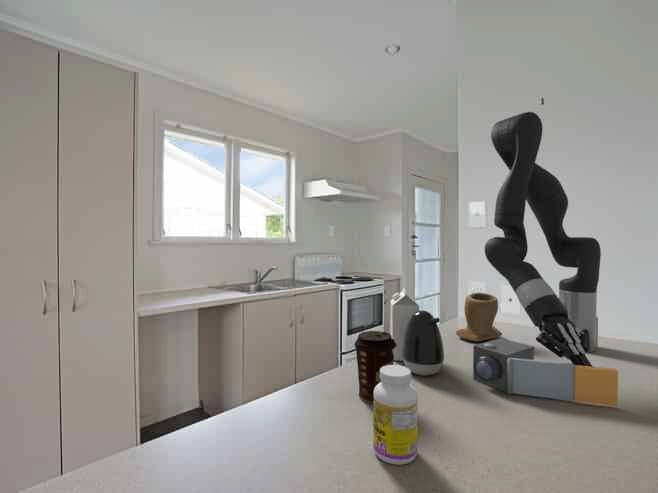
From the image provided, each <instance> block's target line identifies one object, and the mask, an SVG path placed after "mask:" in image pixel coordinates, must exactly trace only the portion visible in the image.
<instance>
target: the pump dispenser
mask: <svg viewBox="0 0 658 493" xmlns="http://www.w3.org/2000/svg"><path fill="white" fill-rule="evenodd" d="M440 321H441V320H440V318H439V317H434V316H433V314H431V312H429V311H427V310H419V311H417V312H416V313H414V314H413V316H412V317H411V319H410V321H409V323H408V325H407V328H406V331H405V335H404V339H403V345H402V358H403V361H402V362H403V364H404V367H406V368H408V369H409V370H410V371H411V374H412V373H413V374H415V375H418V376H422V377H424V376H425V377H427V376H432V375H434V374H436V373H438V372H439V371H440V369H441V368H442V366H443V363H444V361H445V349H444V343H443V338H442V335H441V331H440V327H439V325H438V323H439V322H440Z"/></svg>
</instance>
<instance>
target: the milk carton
mask: <svg viewBox="0 0 658 493" xmlns="http://www.w3.org/2000/svg"><path fill="white" fill-rule="evenodd" d="M391 297H392V299H391V300H390V307H389V308H390V312H389V314H390V316H389V317H390V318H389V319H390V320H389V322H390V326H389V329H390V330H389V331H390V332H389V334H391V337H392V339H394V341H395V343H396V345H397V346H396V347H395V348H394V349H393V350H392V351H393V355H394V361H399V362H400V361H401V362H404V361H403V358H402V345H403V339H404V335H405V331H406V328H407V325H408V323H409V321H410V319H411V317H412V316H413V314H414V313H416V312H417V311H420V305H419V303H417V301H415V299H413V298H412V297H411V296H410V295H409V294H407V289H405V287H404V286H403V287H402V291H400V293H399V292H396V293H394V294H393V295H392V296H391Z"/></svg>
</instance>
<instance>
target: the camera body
mask: <svg viewBox="0 0 658 493" xmlns="http://www.w3.org/2000/svg"><path fill="white" fill-rule="evenodd" d="M472 356H473V357H472V360H473V361H472V367H473V368H472V370H473V373H472V379H473V381H476V382H478V383H481V384H483V385H486V386H489V387H491V388H494V389H497V390H499V391H502V392H505V393H507V365H508V358H518V359H528V360H535V346H533V345H529V344H526V343H521V342H518V341H514V340H510V339H505V338H502V337H500V338H497V339H496V338H495V339H493V340H489V341H486V342H482V343H481V342H480V343H478V344H473V355H472Z"/></svg>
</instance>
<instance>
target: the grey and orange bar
mask: <svg viewBox="0 0 658 493" xmlns="http://www.w3.org/2000/svg"><path fill="white" fill-rule="evenodd" d="M506 393H507V395H510V396H512V395H514V394H515V395H524V396H531V397H538V398H545V399H546V398H547V399H556V400H562V401H563V400H565V401H571V402H577V403H578V402H580V403H587V404H595V405H605V406H611V407H612V406H613V407H618V405H619V404H618V402H619V401H618V399H619V394H618V393H619V370H617V369H616V368H611V367H599V366H593V367H591V366H581V365H574V364H572V363H567V362H558V361H557V362H556V361H549V360H548V361H547V360H536V359H534V360H528V359H518V358H508V365H507V392H506Z"/></svg>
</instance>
